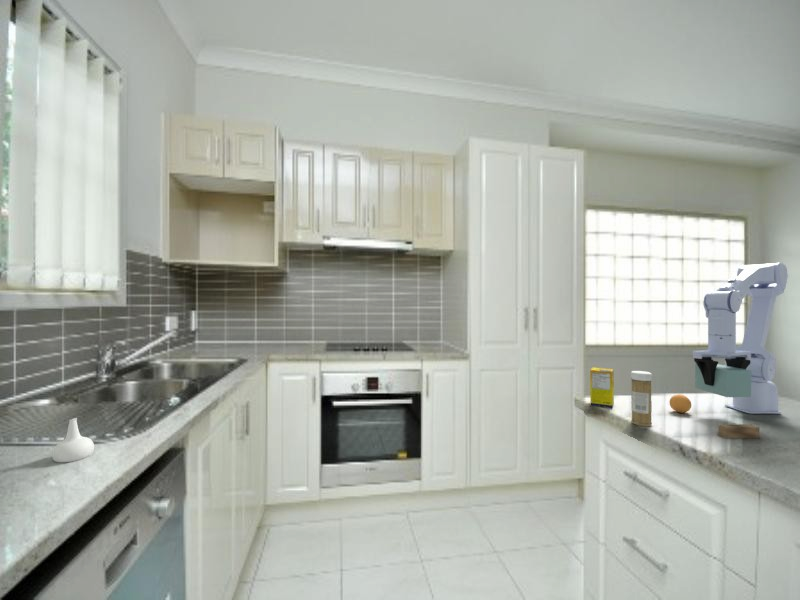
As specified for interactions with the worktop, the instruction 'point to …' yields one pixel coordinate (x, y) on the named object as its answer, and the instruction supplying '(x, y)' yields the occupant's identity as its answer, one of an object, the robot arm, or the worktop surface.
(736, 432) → the strip
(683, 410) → the ball
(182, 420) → the worktop surface
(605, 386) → the supplement box
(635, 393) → the sprinkles bottle
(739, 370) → the pale mint block
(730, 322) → the robot arm
